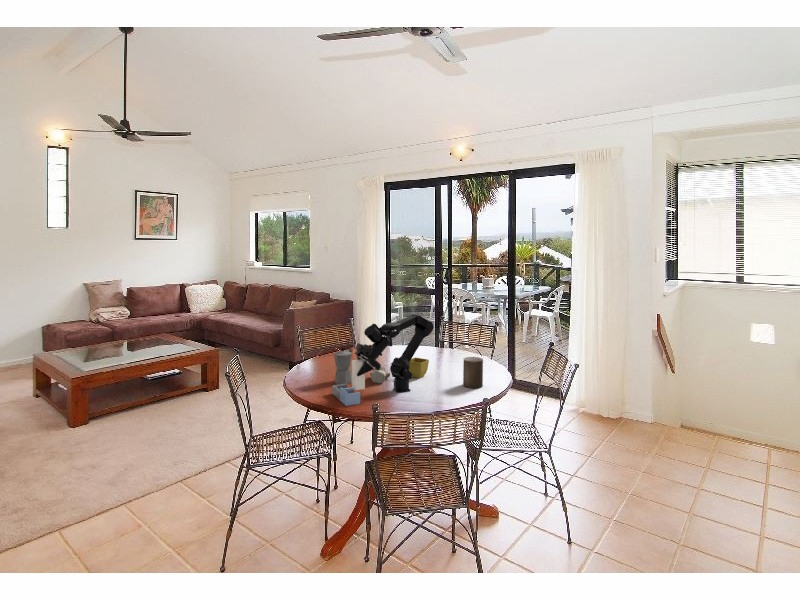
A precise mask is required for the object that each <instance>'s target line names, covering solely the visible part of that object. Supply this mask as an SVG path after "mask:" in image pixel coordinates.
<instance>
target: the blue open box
mask: <svg viewBox="0 0 800 600" xmlns="http://www.w3.org/2000/svg"><path fill="white" fill-rule="evenodd" d="M340 388H343V389H344V388H348V384H333V385H332V388H331V389H332V390H331V391H332V395H333V396H335V397H336V398H337V399H338V400H339V401H340ZM347 392H348V394H349V393H355V389H354V390H351V391H347Z"/></svg>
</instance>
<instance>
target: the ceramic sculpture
mask: <svg viewBox="0 0 800 600" xmlns="http://www.w3.org/2000/svg"><path fill="white" fill-rule="evenodd" d="M369 374H370V379H371V381H372V382H373V383H374V384H382V383H384V382H385V381H386V379H388V378H389V377H390V376H391V372H387V370H386V368H385V367H384V366H381V368H380V369H379V370H376V369H375V368H374V370H372V372H370V373H369Z"/></svg>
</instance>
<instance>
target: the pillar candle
mask: <svg viewBox="0 0 800 600" xmlns="http://www.w3.org/2000/svg"><path fill="white" fill-rule="evenodd" d="M462 365H463V366H462V367H463V370H462V371H463V374H462V375H463V378H462V379H463V380H462V384H463V387H464V388H467V389H481V388H483V386H484V382H483V381H484V359H483V358H482V357H479V356H467V357H464V358H463V364H462Z"/></svg>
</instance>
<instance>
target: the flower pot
mask: <svg viewBox="0 0 800 600" xmlns="http://www.w3.org/2000/svg"><path fill="white" fill-rule="evenodd" d="M429 363H430V359H428V358H427V359H426V358H421V357H412V359H411V360H410V368H409V371H410V372H411V373H412V378H417V379H421V378H423V377H424V376H425V375H426V374H427V371H428V369H429Z"/></svg>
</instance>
